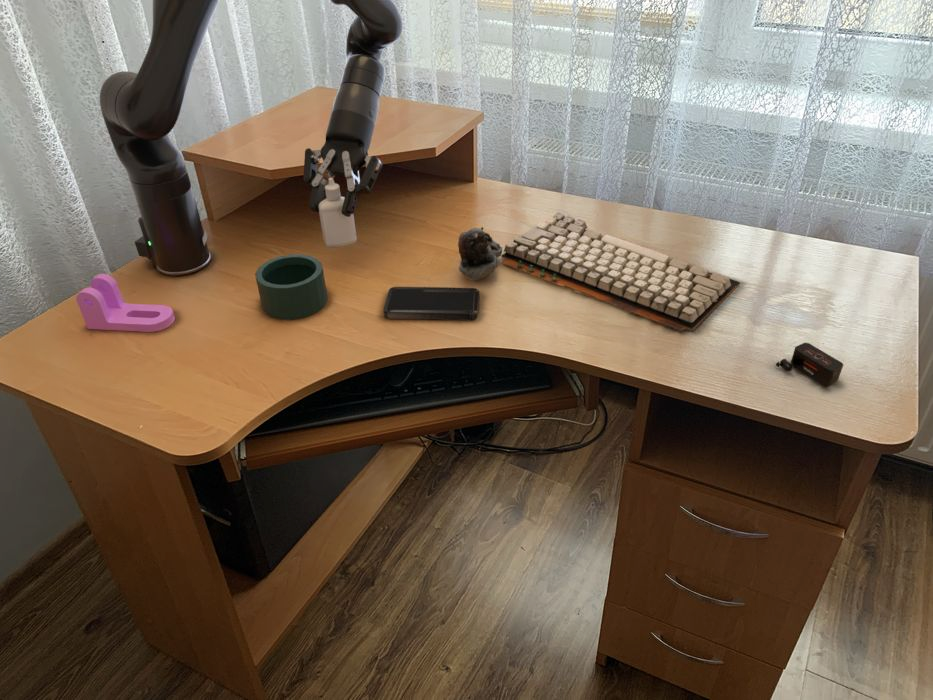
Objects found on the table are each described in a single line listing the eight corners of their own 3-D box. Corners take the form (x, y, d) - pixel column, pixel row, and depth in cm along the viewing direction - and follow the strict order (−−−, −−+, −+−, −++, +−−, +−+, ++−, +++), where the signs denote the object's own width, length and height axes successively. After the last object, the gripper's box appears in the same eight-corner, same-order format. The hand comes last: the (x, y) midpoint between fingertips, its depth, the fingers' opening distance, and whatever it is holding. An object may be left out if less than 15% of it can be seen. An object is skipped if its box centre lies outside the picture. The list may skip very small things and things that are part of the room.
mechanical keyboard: (740, 283, 123) (744, 266, 121) (689, 337, 111) (693, 319, 109) (551, 223, 142) (552, 207, 140) (491, 263, 131) (491, 247, 129)
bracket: (88, 328, 117) (72, 291, 113) (105, 309, 121) (91, 273, 117) (165, 332, 116) (152, 295, 111) (180, 312, 120) (168, 276, 116)
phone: (476, 314, 115) (382, 312, 116) (476, 320, 116) (382, 318, 117) (479, 287, 121) (390, 285, 123) (479, 293, 122) (390, 291, 123)
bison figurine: (465, 252, 134) (463, 201, 128) (503, 253, 133) (504, 202, 127) (456, 287, 124) (453, 234, 118) (497, 289, 123) (497, 235, 117)
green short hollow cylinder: (249, 313, 119) (242, 281, 116) (284, 280, 127) (278, 250, 124) (306, 324, 116) (300, 292, 113) (338, 290, 124) (333, 259, 121)
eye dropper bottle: (352, 250, 126) (342, 185, 119) (321, 247, 127) (310, 183, 120) (359, 237, 130) (351, 174, 122) (329, 235, 131) (319, 172, 123)
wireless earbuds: (796, 356, 106) (801, 338, 104) (838, 383, 101) (845, 364, 100) (774, 367, 105) (779, 349, 103) (816, 395, 100) (822, 376, 98)
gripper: (399, 131, 126) (377, 225, 125) (326, 123, 130) (303, 214, 129) (383, 111, 119) (359, 211, 117) (306, 103, 123) (281, 199, 122)
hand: (329, 212), depth 123 cm, fingers closed on eye dropper bottle, 5 cm apart
